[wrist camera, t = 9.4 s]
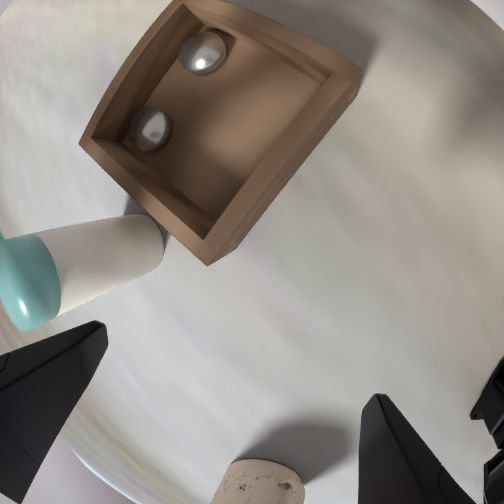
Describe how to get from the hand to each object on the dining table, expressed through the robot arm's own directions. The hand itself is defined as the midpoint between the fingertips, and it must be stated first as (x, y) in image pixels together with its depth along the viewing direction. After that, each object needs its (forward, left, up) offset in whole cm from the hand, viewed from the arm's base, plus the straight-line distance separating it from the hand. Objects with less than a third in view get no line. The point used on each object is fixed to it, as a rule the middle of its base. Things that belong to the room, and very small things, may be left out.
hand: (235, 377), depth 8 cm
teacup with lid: (-3, +23, -11) cm, 26 cm away
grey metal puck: (+11, -9, -10) cm, 17 cm away
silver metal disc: (+8, -14, -10) cm, 19 cm away
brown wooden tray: (+6, -10, -11) cm, 16 cm away
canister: (+12, 0, -11) cm, 17 cm away
